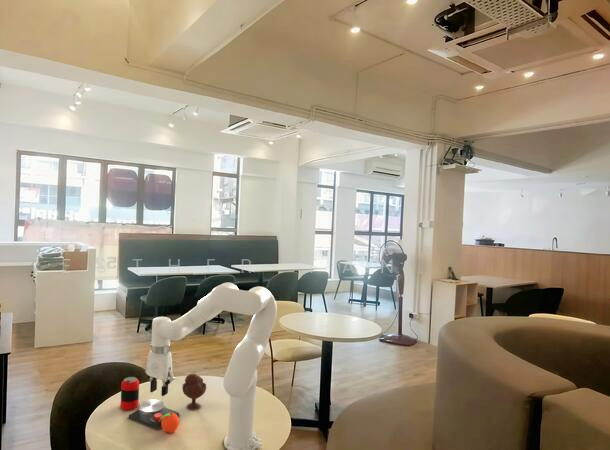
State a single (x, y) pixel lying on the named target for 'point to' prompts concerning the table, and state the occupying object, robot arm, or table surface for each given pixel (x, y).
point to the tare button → (157, 416)
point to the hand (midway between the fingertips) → (158, 392)
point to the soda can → (129, 393)
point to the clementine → (170, 422)
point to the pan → (151, 406)
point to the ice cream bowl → (193, 389)
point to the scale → (150, 418)
